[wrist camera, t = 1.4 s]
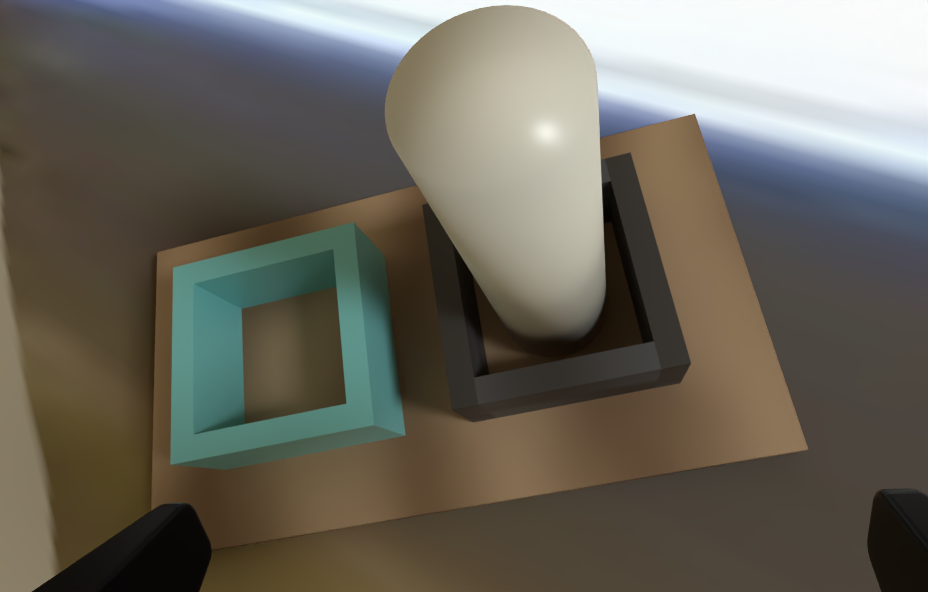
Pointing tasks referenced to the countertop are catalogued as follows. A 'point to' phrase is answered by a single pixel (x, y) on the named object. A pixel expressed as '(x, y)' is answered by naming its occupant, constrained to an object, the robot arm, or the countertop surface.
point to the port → (221, 350)
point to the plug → (511, 165)
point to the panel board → (501, 364)
